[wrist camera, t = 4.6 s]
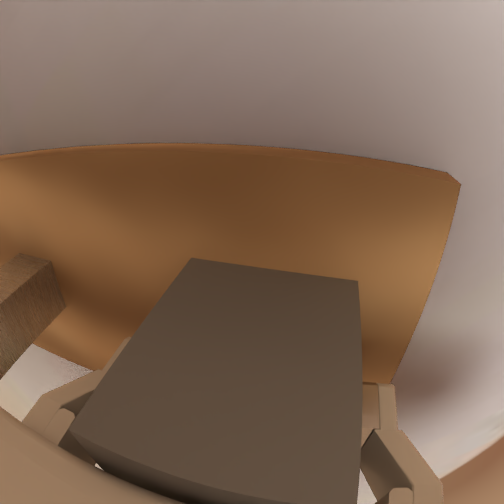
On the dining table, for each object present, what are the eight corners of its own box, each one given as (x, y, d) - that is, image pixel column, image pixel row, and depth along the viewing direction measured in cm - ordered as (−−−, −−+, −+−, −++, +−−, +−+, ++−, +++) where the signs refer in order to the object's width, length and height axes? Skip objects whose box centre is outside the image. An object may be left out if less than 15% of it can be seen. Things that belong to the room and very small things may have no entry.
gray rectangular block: (191, 257, 10) (67, 429, 5) (357, 280, 9) (356, 507, 4) (202, 365, 13) (138, 504, 7) (328, 387, 12) (304, 545, 6)
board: (-25, 159, 12) (-40, 166, 11) (447, 172, 8) (460, 184, 7) (28, 325, 18) (18, 335, 17) (362, 412, 14) (362, 432, 13)
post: (19, 253, 13) (-58, 317, 8) (50, 260, 12) (-34, 336, 7) (34, 295, 14) (-32, 361, 9) (66, 307, 13) (-4, 384, 9)
